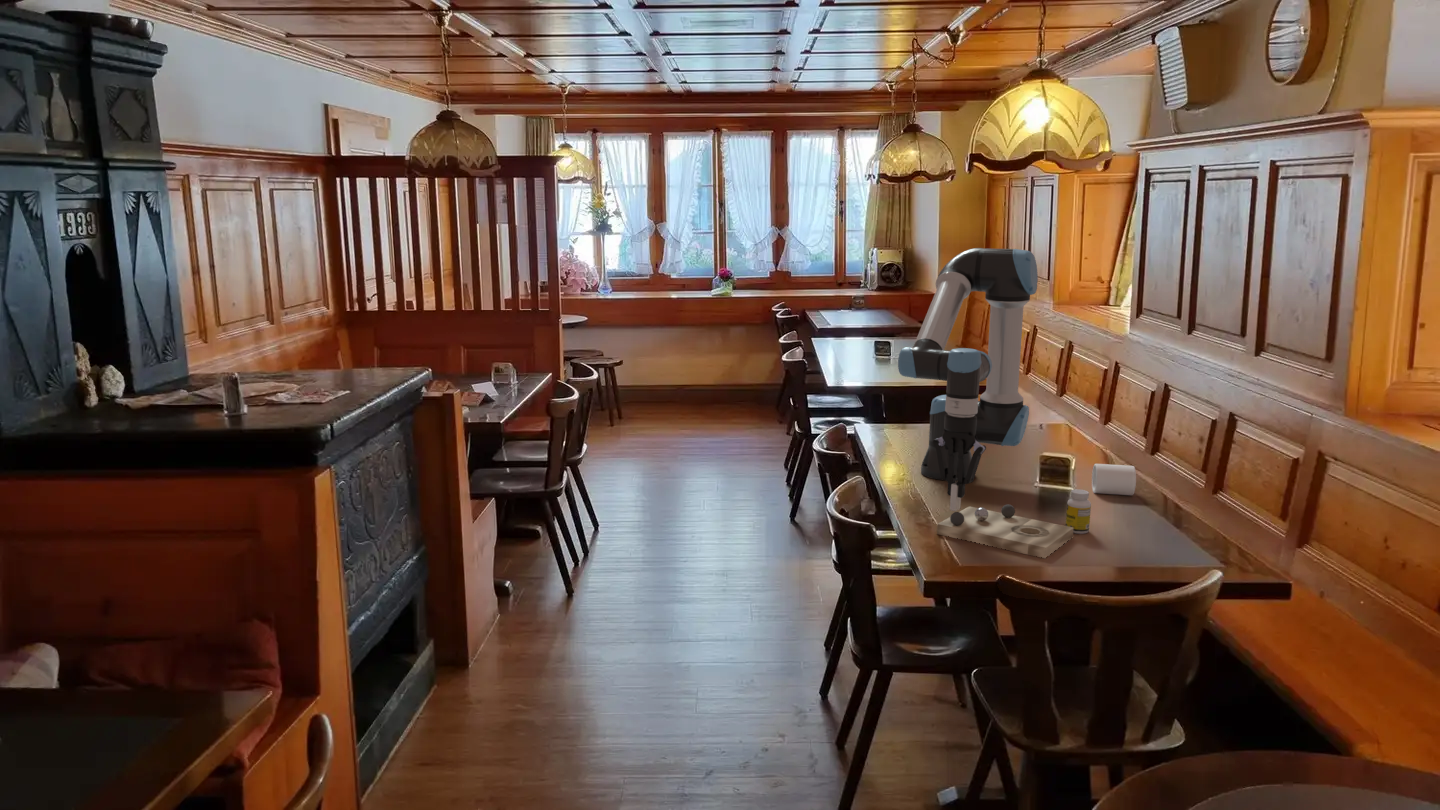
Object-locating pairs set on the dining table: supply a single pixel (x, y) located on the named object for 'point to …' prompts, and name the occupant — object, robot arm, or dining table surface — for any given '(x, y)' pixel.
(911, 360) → the robot arm
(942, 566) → the dining table surface
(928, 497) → the dining table surface
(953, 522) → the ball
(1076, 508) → the supplement bottle
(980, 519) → the steel ball
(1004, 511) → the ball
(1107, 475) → the mug
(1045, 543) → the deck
